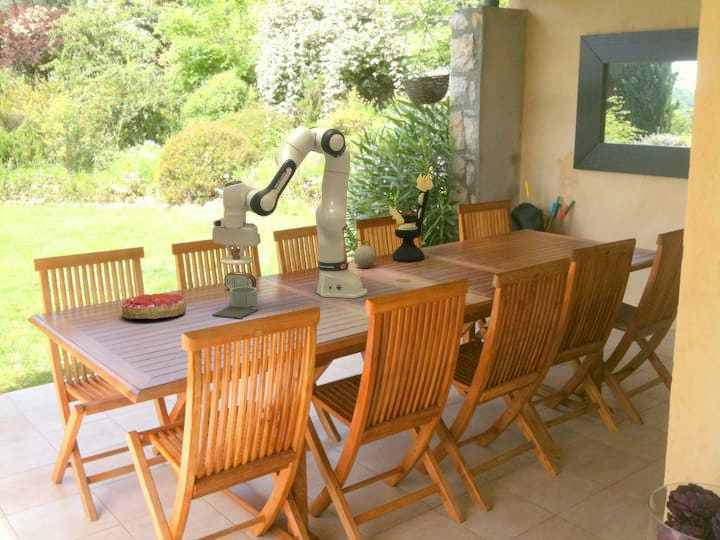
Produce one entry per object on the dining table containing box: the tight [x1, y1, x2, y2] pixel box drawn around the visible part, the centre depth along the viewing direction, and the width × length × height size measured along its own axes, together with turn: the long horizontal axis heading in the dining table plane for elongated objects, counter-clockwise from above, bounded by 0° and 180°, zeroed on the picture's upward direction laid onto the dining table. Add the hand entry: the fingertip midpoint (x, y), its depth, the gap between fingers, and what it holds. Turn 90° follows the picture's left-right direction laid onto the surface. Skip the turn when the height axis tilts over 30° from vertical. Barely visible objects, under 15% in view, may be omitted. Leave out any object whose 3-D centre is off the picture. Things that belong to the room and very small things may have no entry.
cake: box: [121, 293, 187, 321], centre depth 309 cm, size 25×25×8 cm
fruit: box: [351, 238, 376, 269], centre depth 388 cm, size 10×12×15 cm
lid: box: [219, 247, 254, 266], centre depth 313 cm, size 13×13×5 cm
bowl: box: [229, 287, 258, 308], centre depth 323 cm, size 11×11×6 cm
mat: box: [212, 305, 259, 320], centre depth 310 cm, size 13×13×1 cm
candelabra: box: [388, 172, 434, 263], centre depth 402 cm, size 19×22×45 cm
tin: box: [223, 271, 257, 291], centre depth 346 cm, size 15×3×8 cm, turn 71°
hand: (236, 256), depth 313 cm, fingers closed on lid, 3 cm apart
